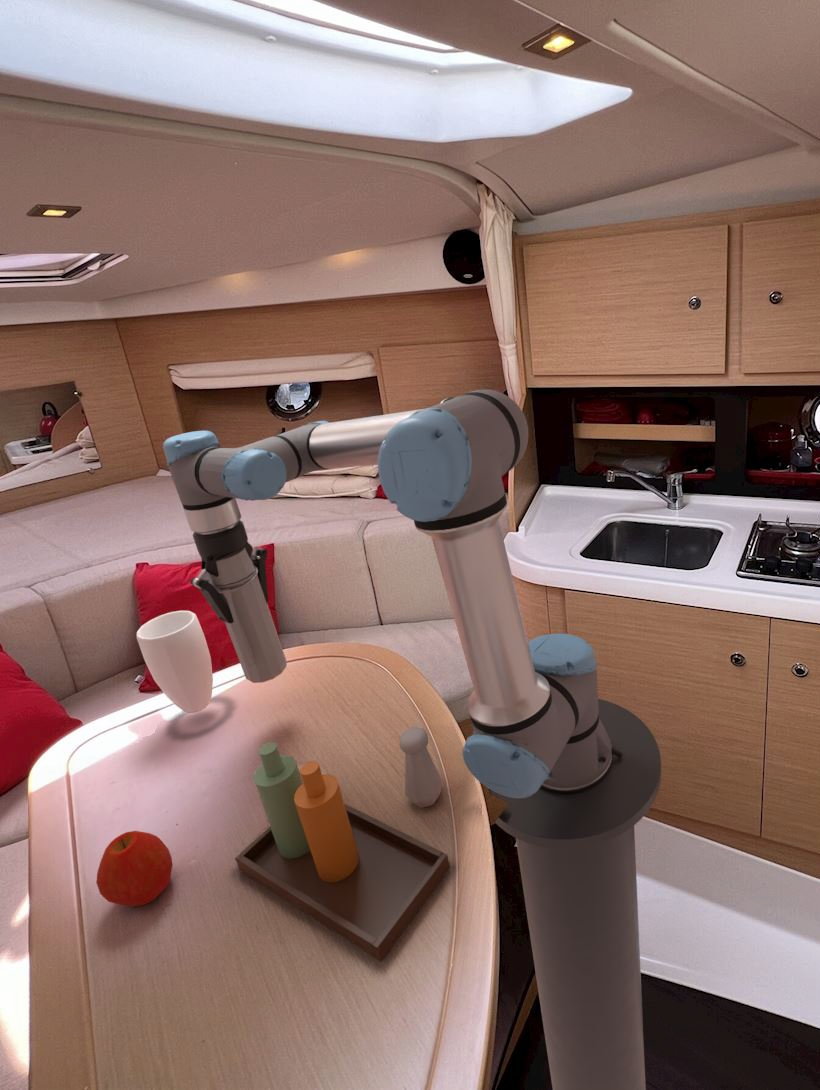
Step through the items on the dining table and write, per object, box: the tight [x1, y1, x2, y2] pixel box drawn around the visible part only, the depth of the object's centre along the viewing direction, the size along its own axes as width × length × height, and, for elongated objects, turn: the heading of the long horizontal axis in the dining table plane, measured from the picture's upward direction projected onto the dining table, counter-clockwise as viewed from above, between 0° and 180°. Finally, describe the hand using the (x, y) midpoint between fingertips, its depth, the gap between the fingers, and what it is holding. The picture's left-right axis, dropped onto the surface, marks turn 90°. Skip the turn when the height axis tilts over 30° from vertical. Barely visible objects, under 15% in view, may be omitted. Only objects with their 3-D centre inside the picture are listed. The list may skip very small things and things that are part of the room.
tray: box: [234, 803, 451, 962], centre depth 85 cm, size 28×14×3 cm, turn 61°
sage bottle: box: [253, 741, 310, 859], centre depth 86 cm, size 6×6×18 cm
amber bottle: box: [294, 760, 359, 883], centre depth 82 cm, size 6×6×18 cm
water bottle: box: [209, 547, 287, 684], centre depth 105 cm, size 9×8×25 cm
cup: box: [136, 610, 214, 714], centre depth 114 cm, size 10×10×22 cm
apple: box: [95, 830, 173, 907], centre depth 82 cm, size 8×8×11 cm
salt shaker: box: [398, 725, 443, 809], centre depth 93 cm, size 6×6×13 cm
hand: (256, 646), depth 107 cm, fingers closed
